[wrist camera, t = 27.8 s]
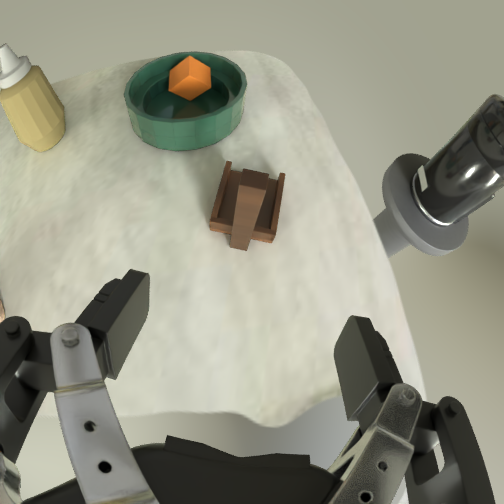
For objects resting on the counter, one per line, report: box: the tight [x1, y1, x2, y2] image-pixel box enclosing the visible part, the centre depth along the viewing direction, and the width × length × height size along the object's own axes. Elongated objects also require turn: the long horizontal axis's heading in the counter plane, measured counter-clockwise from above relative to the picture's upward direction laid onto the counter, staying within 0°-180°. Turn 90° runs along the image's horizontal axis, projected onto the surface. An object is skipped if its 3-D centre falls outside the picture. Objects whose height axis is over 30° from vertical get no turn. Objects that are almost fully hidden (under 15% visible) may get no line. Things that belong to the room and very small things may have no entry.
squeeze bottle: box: [0, 43, 65, 152], centre depth 23 cm, size 8×8×18 cm
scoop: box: [210, 161, 285, 251], centre depth 26 cm, size 9×7×12 cm
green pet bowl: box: [124, 52, 247, 151], centre depth 33 cm, size 15×15×6 cm
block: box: [169, 56, 211, 101], centre depth 33 cm, size 4×4×4 cm
